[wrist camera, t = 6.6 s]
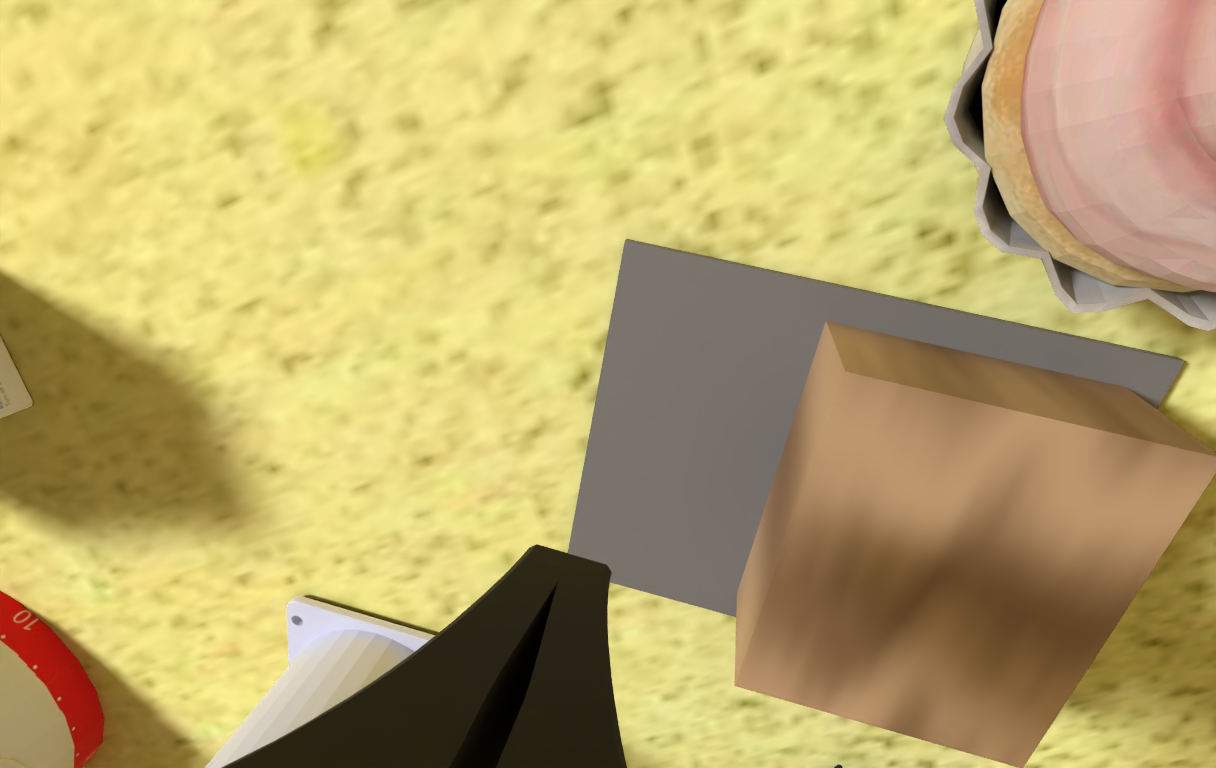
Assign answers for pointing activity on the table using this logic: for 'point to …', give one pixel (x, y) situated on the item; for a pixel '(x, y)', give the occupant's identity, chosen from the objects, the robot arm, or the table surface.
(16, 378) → the light bulb box
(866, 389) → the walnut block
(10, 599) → the kitchen timer
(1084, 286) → the cupcake
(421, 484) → the table surface
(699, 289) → the mat
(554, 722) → the robot arm
